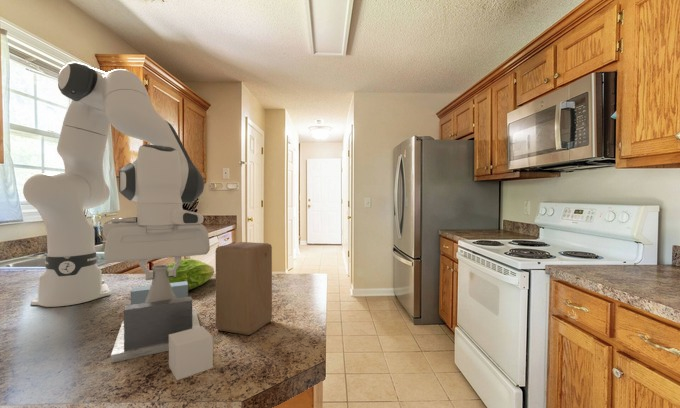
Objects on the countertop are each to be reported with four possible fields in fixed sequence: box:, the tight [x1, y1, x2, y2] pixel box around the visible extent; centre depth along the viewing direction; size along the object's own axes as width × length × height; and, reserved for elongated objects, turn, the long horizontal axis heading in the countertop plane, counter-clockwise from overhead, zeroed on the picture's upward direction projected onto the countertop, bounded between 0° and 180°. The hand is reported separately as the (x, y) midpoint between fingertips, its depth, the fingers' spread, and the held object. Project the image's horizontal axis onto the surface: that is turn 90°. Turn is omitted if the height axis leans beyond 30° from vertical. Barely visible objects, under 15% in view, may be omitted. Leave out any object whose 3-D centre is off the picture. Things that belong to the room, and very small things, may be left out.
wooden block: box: [215, 241, 273, 336], centre depth 75 cm, size 10×10×20 cm
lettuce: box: [168, 258, 215, 291], centre depth 110 cm, size 12×24×13 cm
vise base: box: [110, 296, 201, 364], centre depth 70 cm, size 19×16×10 cm
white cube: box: [168, 325, 214, 381], centre depth 57 cm, size 6×6×6 cm
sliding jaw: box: [130, 281, 189, 305], centre depth 76 cm, size 4×12×8 cm, turn 120°
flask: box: [145, 264, 177, 303], centre depth 69 cm, size 7×7×10 cm
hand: (161, 277), depth 69 cm, fingers closed on flask, 3 cm apart
